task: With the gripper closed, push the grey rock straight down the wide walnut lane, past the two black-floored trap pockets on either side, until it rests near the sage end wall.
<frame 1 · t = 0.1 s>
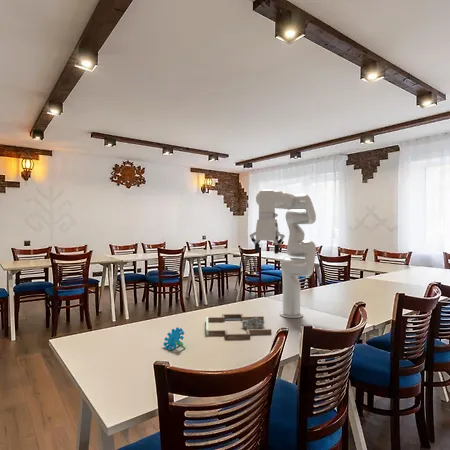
hand: (266, 252, 158), 37 cm above the table, tool pointing down, fingers open, 9 cm apart
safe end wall: (207, 325, 165), on the table
gear: (174, 348, 139), on the table
trap box: (236, 327, 165), on the table
trap pits: (236, 327, 165), on the table
grey rock: (252, 327, 166), on the table
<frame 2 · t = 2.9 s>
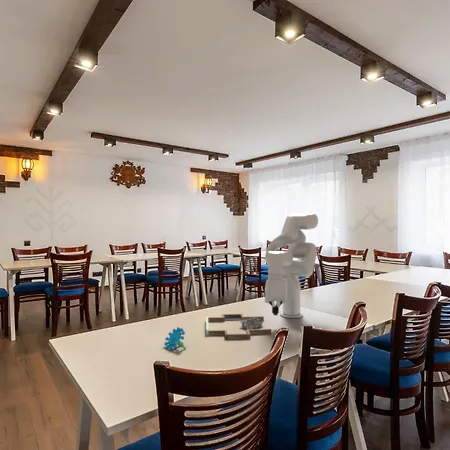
hand: (275, 314, 165), 6 cm above the table, tool pointing down, fingers closed
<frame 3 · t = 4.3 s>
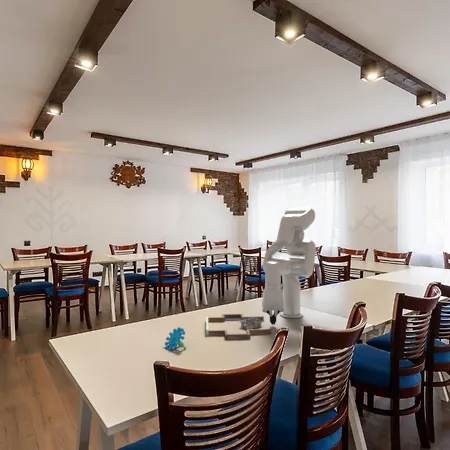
hand: (273, 323, 166), 1 cm above the table, tool pointing down, fingers closed
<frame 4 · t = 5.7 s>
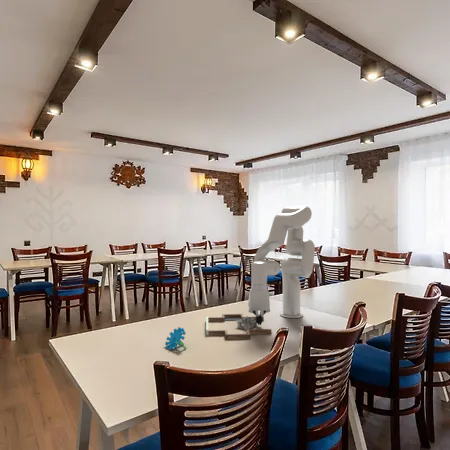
hand: (259, 324, 166), 1 cm above the table, tool pointing down, fingers closed
grey rock: (247, 327, 167), on the table
everything else where it was.
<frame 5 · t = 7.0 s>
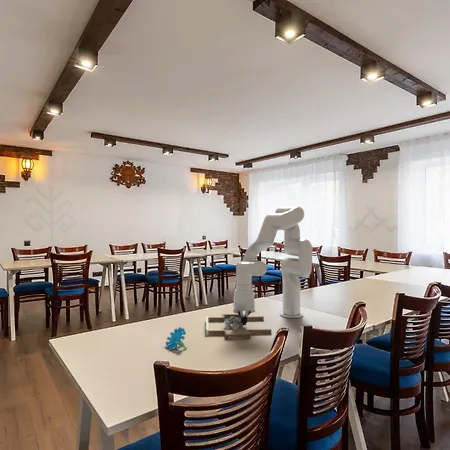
hand: (244, 324, 166), 1 cm above the table, tool pointing down, fingers closed
grey rock: (234, 326, 168), on the table, touching gripper
everything else where it was.
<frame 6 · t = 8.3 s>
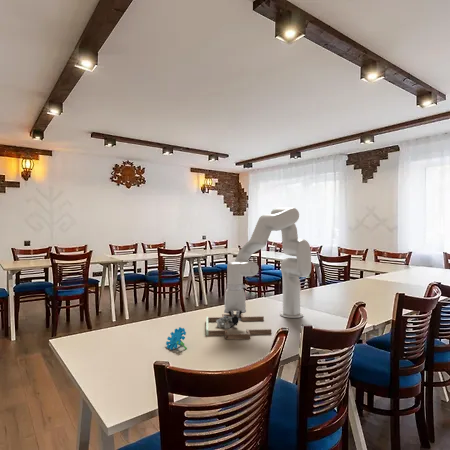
hand: (235, 324, 165), 1 cm above the table, tool pointing down, fingers closed
grey rock: (226, 325, 169), on the table, touching gripper
everything else where it was.
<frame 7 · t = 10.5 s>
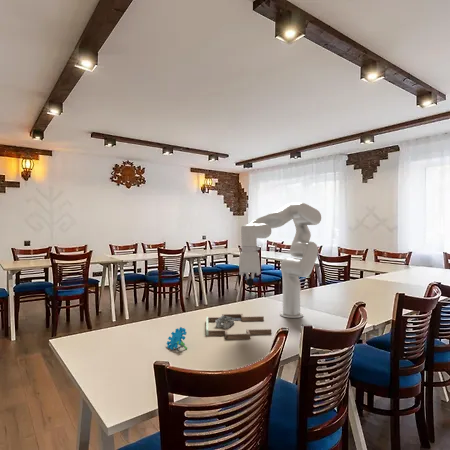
hand: (250, 286, 167), 20 cm above the table, tool pointing down, fingers closed
grey rock: (224, 325, 169), on the table
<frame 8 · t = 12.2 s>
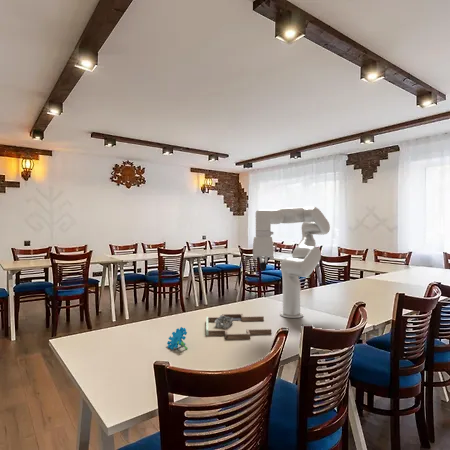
hand: (263, 270, 171), 27 cm above the table, tool pointing down, fingers closed
at the end: grey rock inside the target area on the trap box (5.1 cm from its centre), point -0.5 cm above the trap box's base; grey rock tilted 0°; grey rock moved 14.8 cm from its start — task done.
